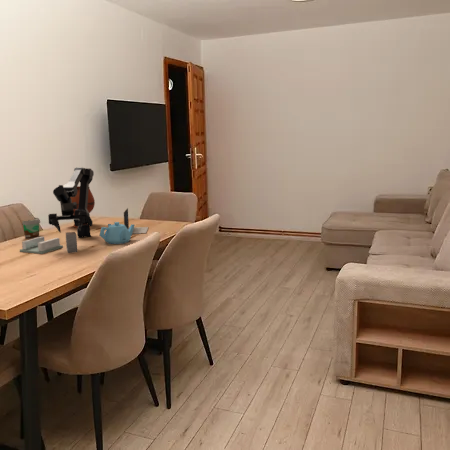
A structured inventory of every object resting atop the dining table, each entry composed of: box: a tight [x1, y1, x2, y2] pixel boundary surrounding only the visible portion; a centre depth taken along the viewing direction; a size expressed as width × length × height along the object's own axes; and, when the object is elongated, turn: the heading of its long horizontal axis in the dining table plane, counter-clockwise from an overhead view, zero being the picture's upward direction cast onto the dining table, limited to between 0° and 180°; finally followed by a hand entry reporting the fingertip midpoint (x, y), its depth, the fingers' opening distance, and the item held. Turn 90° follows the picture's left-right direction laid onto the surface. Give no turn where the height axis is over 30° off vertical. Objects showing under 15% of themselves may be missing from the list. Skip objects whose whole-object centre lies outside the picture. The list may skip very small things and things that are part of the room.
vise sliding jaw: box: [21, 236, 45, 250], centre depth 242 cm, size 13×4×4 cm, turn 158°
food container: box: [22, 217, 41, 239], centre depth 271 cm, size 12×6×10 cm, turn 168°
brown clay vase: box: [70, 185, 96, 229], centre depth 300 cm, size 19×19×25 cm
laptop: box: [123, 207, 149, 235], centre depth 285 cm, size 18×12×13 cm
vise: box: [19, 237, 64, 255], centre depth 240 cm, size 15×14×5 cm
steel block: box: [65, 231, 78, 254], centre depth 236 cm, size 4×7×9 cm, turn 23°
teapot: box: [99, 221, 135, 245], centre depth 256 cm, size 15×15×11 cm
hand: (70, 231), depth 237 cm, fingers open, 9 cm apart
